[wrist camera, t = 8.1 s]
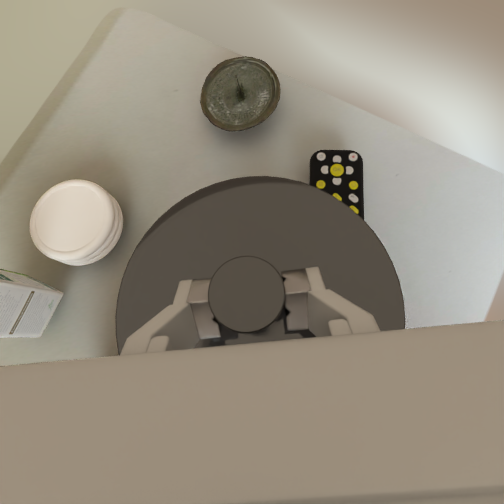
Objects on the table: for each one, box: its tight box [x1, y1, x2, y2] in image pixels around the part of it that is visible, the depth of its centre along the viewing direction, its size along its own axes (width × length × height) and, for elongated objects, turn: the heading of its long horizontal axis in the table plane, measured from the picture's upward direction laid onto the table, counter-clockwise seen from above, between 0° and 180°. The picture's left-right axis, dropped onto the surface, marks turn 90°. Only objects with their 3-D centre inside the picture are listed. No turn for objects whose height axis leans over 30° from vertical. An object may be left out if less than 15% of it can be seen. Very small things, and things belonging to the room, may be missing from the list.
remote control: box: [309, 150, 364, 220], centre depth 40 cm, size 6×13×2 cm, turn 177°
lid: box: [200, 56, 280, 131], centre depth 44 cm, size 11×10×5 cm
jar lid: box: [116, 176, 405, 355], centre depth 14 cm, size 14×14×6 cm
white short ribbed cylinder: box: [30, 179, 123, 266], centre depth 41 cm, size 10×10×4 cm
